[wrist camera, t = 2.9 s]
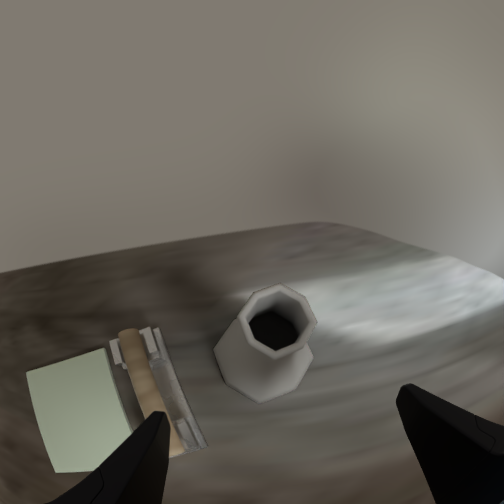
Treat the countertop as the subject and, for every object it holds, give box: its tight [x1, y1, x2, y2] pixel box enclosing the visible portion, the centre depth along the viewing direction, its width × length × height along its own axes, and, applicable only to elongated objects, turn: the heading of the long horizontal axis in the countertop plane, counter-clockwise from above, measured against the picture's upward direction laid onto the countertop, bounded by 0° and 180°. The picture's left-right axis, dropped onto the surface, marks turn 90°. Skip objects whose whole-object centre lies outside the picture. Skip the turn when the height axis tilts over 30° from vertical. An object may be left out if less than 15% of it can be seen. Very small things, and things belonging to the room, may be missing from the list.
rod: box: [118, 328, 185, 457], centre depth 15 cm, size 9×2×2 cm, turn 24°
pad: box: [26, 348, 133, 473], centre depth 16 cm, size 10×10×1 cm
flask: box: [213, 283, 317, 404], centre depth 15 cm, size 7×7×10 cm
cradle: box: [109, 327, 208, 458], centre depth 16 cm, size 10×4×3 cm, turn 24°
